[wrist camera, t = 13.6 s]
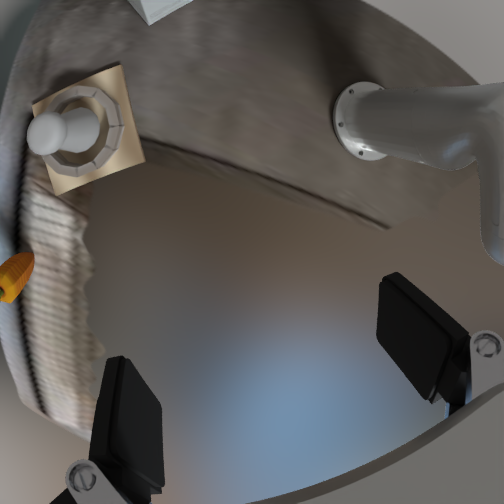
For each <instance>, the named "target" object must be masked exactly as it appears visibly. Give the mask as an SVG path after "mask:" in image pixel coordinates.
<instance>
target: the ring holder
mask: <svg viewBox="0 0 504 504" xmlns="http://www.w3.org/2000/svg"><path fill="white" fill-rule="evenodd" d="M80 107H83V108H87V109H90V110H91V111H92V112H93V113H95V114H96V115H97V117H98V120H99V123H100V131H99V136H98V138H97V140H96V142H95V143H94V144H93V145H92V146H91V147H90V148H89V149H87V150H86V151H83V152H79V153H75V152H70V151H66V150H60V149H58V150H57V151H56V152H54V153H51V154H48V155H42V159H43V160H44V161H45V162H46V166H47V169H48V172H49V176H50V179H51V182H52V185H53V188H54V191H55V194H56V196H57V195H60V194H62V193H64V192H66V191H69V190H71V189H73V188H76V187H78V186H81V185H83V184H85V183H88V182H90V181H93V180H95V179H98V178H101V177H103V176H106V175H108V174H111V173H114V172H116V171H119V170H122V169H125V168H127V167H130V166H133V165H136V164H139V163H142V162H145V161H146V160H145V157H144V153H143V149H142V146H141V142H140V138H139V135H138V131H137V127H136V123H135V119H134V115H133V111H132V107H131V103H130V98H129V94H128V90H127V85H126V81H125V76H124V71H123V66H122V65H118V66H115V67H113V68H110V69H107V70H105V71H102V72H100V73H98V74H95V75H93V76H90V77H88V78H86V79H84V80H81V81H79V82H77V83H75V84H73V85H71V86H68V87H66V88H64V89H62V90H60V91H58V92H56V93H54V94H53V95H51V96H49V97H47V98H45V99H43V100H41V101H40V102H38V103H36V104H34V105H33V106H32V108H33V113H34V118H35V117H36V116H37V115H39V114H41V113H44V112H47V111H51V112H56V113H59V114H60V115H61V114H63V113H66V112H68V111H71V110H73V109H77V108H80Z"/></svg>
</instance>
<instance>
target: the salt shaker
mask: <svg viewBox="0 0 504 504" xmlns="http://www.w3.org/2000/svg"><path fill="white" fill-rule="evenodd" d="M99 131H100V123H99V120H98V117H97V115H96V114H95V113H93V112H92V111H91V110H90V109H87V108H83V107H80V108H77V109H73V110H71V111H68V112H66V113H63V114H61V115H60V114H59V113H56V112H51V111H47V112H44V113H41V114H39V115H37V116H36V117H35V118H34V119H33V120H32V121H31V123H30V126H29V128H28V131H27V142H28V145H29V147H30V149H31V150H32V151H33V152H34V153H35V154H40V155H48V154H51V153H54V152H56V151H57V150H58V149H60V150H66V151H70V152H75V153H79V152H83V151H86V150H87V149H89V148H90V147H91V146H92V145H93V144H94V143H95V142H96V140H97V138H98V136H99Z"/></svg>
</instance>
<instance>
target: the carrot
mask: <svg viewBox="0 0 504 504" xmlns="http://www.w3.org/2000/svg"><path fill="white" fill-rule="evenodd" d="M33 268H34V254H33V253H31V252H22V253H19V254H16V255H14V256H12V257H11V258H9V259H8V260H7V261H5V262H4V263H3V264H2V265H1V266H0V301H3V302H7V303H11V302H12V301H13V300H14V299H15V298H16V297H17V295H18V294H19V293H20V291H21V290H22V289H23V287H24V286H25V284H26V283H27V281H28V280H29V278H30V275H31V273H32V271H33Z"/></svg>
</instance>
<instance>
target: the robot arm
mask: <svg viewBox="0 0 504 504" xmlns="http://www.w3.org/2000/svg"><path fill="white" fill-rule="evenodd" d="M349 92H350V93H349ZM333 124H334V129H335V133H336V135H337V137H338V140H339V142H340V143H341V144H342V146H343V147H344V148H345V149H346V150H347V151H348V152H349V153H350V154H352V155H353V156H355V157H357V158H360V159H364V160H371V161H373V160H379V159H381V158H383V157H385V156H387V155H391V156H395V157H399V158H403V159H407V160H411V161H415V162H419V163H422V164H426V165H429V166H433V167H436V168H440V169H444V170H457V169H461V168H463V167H465V166H467V165H469V164H470V163H471V162H473V161H474V160H475V159H476V160H477V164H478V173H479V179H480V231H481V239H482V243H483V246H484V249H485V250H486V252H487V253H488V254H489V256H490V257H491V258H493V260H495V261H496V262H498V263H500V264H501V265H504V82H501V83H493V84H485V85H475V86H462V87H418V88H398V89H384V88H383V87H381V86H380V85H378V84H375V83H372V82H358V83H354V84H351V85H350V86H348V87H346V88H345V89H344V90H343V91H342V92H341V93H340V95H339V96H338V98H337V100H336V102H335V105H334V110H333ZM338 124H339V125H338ZM468 334H469V332H467V331H466V330H465V329H464V328H463V327H462V326H461V325H460V324H459V323H457V321H455V320H454V319H453V318H452V317H451V316H450V315H449V314H448V313H446V312H445V311H444V310H443V309H442V308H441V307H439V306H438V305H437V304H436V303H435V302H434V301H432V300H431V299H430V298H429V297H428V296H426V295H425V294H424V293H423V292H422V291H421V290H419V289H418V288H417V287H416V286H415V285H413V284H412V283H411V282H410V281H408V280H407V279H406V278H405V277H404V276H402V275H401V274H400V273H398V272H394V273H392V274H389V275H387V276H384V277H383V279H382V282H380V284H379V303H378V318H377V330H376V336H377V340H378V342H379V343H380V344H381V346H382V347H383V348H384V349H385V351H386V352H387V353H388V354H389V356H390V357H391V358H392V359H393V361H394V362H395V363H396V364H397V366H398V367H399V368H400V369H401V371H402V372H403V373H404V374H405V376H406V377H407V378H408V380H409V381H410V382H411V383H412V385H413V386H414V387H415V389H416V390H417V391H418V393H419V394H420V395H421V396H422V397H423V399H425V400H429V401H430V403H431V404H433V403H435V402H436V401H438V400H439V399H441V398H443V399H444V400H445V401H446V408H445V418H444V420H443V421H442V422H440V423H438V424H437V425H435V426H434V427H432V428H431V429H429V430H427V431H426V432H424V433H423V434H421V435H419V436H418V437H416V438H414V439H413V440H411V441H409V442H407V443H406V444H404V445H402V446H400V447H399V448H397V449H395V450H393V451H391V452H389V453H387V454H385V455H383V456H381V457H379V458H377V459H375V460H373V461H371V462H369V463H367V464H365V465H362V466H360V467H358V468H356V469H353V470H351V471H349V472H347V473H344V474H342V475H339V476H337V477H334V478H331V479H329V480H326V481H323V482H321V483H318V484H315V485H312V486H309V487H306V488H303V489H300V490H297V491H293V492H290V493H287V494H283V495H280V496H276V497H272V498H268V499H264V500H260V501H256V502H251V503H247V504H504V342H503V340H502V339H501V337H500V336H499V335H497V334H496V333H494V332H492V331H487V330H483V331H479V332H476V333H475V334H474V335H473V336H472V338H471V337H470V336H469V335H468ZM65 478H66V485H67V488H66V489H65V490H64V491H63V492H62V493H61V494H60V495H59V496H57V497H56V498H55V499H54V500H53V501H52V502H51V503H50V504H152V503H151V494H162V490H161V487H164V485H165V477H164V460H163V437H162V408H161V404H160V402H159V401H158V399H157V398H156V396H155V395H154V394H153V392H152V391H151V390H150V388H149V387H148V385H147V384H146V383H145V381H144V380H143V379H142V377H141V376H140V374H139V372H138V371H137V370H136V368H135V367H134V365H133V364H132V362H131V360H130V359H128V358H127V359H126V358H124V356H117V357H112V358H108V359H107V361H106V366H105V370H104V375H103V379H102V384H101V389H100V394H99V397H98V400H97V404H96V410H95V416H94V422H93V428H92V435H91V442H90V450H89V459H88V460H84V459H82V460H78V461H76V462H74V463H73V464H72V465H71V466H70V467H69V468H68V470H67V472H66V477H65Z"/></svg>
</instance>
